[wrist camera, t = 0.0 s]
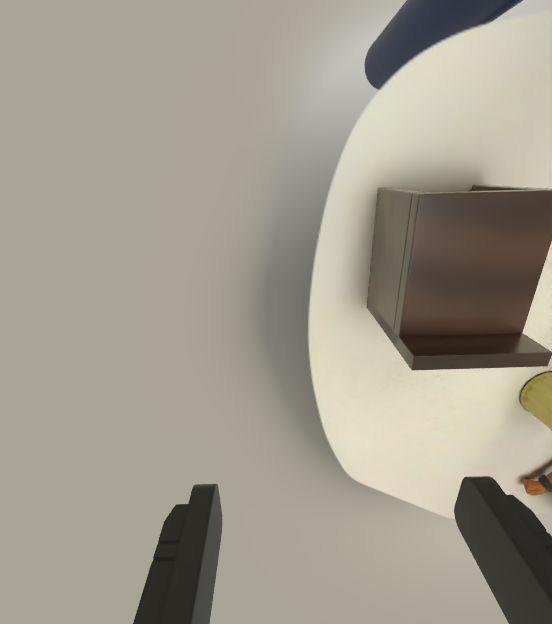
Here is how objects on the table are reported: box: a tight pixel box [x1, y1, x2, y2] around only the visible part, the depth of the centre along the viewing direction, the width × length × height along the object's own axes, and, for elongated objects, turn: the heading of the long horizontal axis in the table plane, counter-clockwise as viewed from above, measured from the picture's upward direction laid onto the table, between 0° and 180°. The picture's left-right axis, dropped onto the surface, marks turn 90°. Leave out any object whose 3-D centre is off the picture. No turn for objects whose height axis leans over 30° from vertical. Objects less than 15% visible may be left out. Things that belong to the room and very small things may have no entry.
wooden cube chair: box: [367, 185, 552, 370], centre depth 26 cm, size 12×10×12 cm
